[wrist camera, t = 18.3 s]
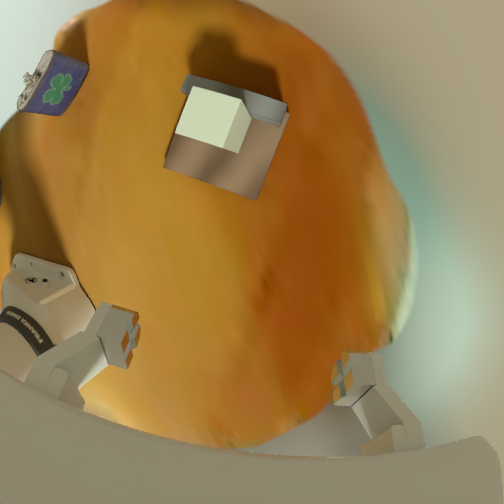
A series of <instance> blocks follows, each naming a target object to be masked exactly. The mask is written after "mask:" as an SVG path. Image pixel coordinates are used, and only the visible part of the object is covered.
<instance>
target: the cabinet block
mask: <svg viewBox="0 0 504 504" xmlns="http://www.w3.org/2000/svg"><path fill="white" fill-rule="evenodd" d="M251 119H252V118H251V116H250V115H249V113H248V111H247V109H246V107H245V105H244V103H243V102H242V100H241V99H238V98H234V97H231V96H228V95H224V94H221V93H217V92H214V91H210V90H206V89H202V88H199V87H195V86H193V87H192V89H191V92H190V94H189V97H188V99H187V102H186V104H185V107H184V110H183V112H182V115H181V117H180V120H179V123H178V126H177V128H176V131H175V133H176V134H180V135H183V136H186V137H190V138H193V139H196V140H199V141H202V142H205V143H209V144H212V145H215V146H218V147H221V148H224V149H227V150H230V151H232V152H235V153H239V150H240V147H241V145H242V142H243V140H244V137H245V134H246V132H247V129H248V127H249V124H250V122H251Z"/></svg>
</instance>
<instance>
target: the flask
mask: <svg viewBox="0 0 504 504" xmlns="http://www.w3.org/2000/svg"><path fill="white" fill-rule="evenodd" d="M88 71H89V66H88V65H87V64H86V63H85V62H82V61H79V60H77V59H75V58H72V57H69V56H66V55H64V54H61V53H59V52H56V51H55V50H49V51H46V52H45V53H44V55H43V56H42V58H41V61H40V62H39V64H38V66H37V68H36V70H35V72H34V74H33V76H31V75H29V73H28V72H27V73H26V74H25V75H24V76H23V77H25V76H26V78H25V80H24V83H25V85H26V88H25V90H24V91H23V92H22V94H21V95H20V96H19V99H18V102H17V109H18V110H19V111H22V112H31V113H38V114H44V115H50V116H51V115H52V116H61V115H63V114H64V113H65V112H66V110H67V109H68V107H69V106H70V105H71V103H72V102H73V100H74V98H75V97H76V95H77V92H78V91H79V89H80V87H81V85H82V84H83V82H84V80H85V78H86V77H87V74H88Z"/></svg>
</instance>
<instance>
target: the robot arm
mask: <svg viewBox="0 0 504 504" xmlns="http://www.w3.org/2000/svg"><path fill="white" fill-rule="evenodd" d="M63 273H64V274H63ZM1 301H2V313H1V315H0V504H503V485H502V475H501V467H500V461H499V458H498V454H497V452H496V451H495V450H494V448H493V447H492V446H491V445H490V444H489V442H488V441H487V440H486V439H485V438H484V437H482V436H473V437H470V438H466V439H462V440H458V441H454V442H450V443H445V444H441V445H436V446H431V447H425V444H424V438H423V433H422V428H421V423H420V421H419V420H418V419H417V418H416V416H415V415H414V414H413V413H412V412H411V411H410V409H409V408H408V407H407V406H406V404H405V403H404V402H403V401H402V400H401V399H400V397H399V396H398V395H397V394H396V393H395V392H394V390H393V389H392V388H391V387H390V386H387V383H386V379H385V374H384V370H383V366H382V361H381V357H380V355H379V354H378V353H369V352H360V351H349V350H346V351H344V352H343V353H342V354H341V359H340V360H338V361H336V363H335V364H334V366H333V369H332V373H331V381H332V383H333V385H334V386H335V388H334V390H333V391H332V392H333V402H334V405H341V406H352V409H353V410H354V412H355V414H356V415H357V417H358V418H359V420H360V422H361V423H362V424H363V426H364V428H365V429H366V431H367V433H368V434H369V436H370V437H371V439H372V440H370V441H369V442H367V443H366V444H364V445H363V446H362V455H361V456H360V455H359V456H335V457H307V456H283V455H268V454H258V453H249V452H240V451H233V450H226V449H220V448H214V447H208V446H202V445H197V444H192V443H188V442H183V441H178V440H174V439H170V438H166V437H162V436H158V435H154V434H151V433H147V432H144V431H140V430H137V429H134V428H130V427H127V426H124V425H121V424H118V423H115V422H112V421H109V420H107V419H104V418H101V417H98V416H96V415H93V414H91V413H88V412H85V411H83V407H84V404H85V400H84V398H83V397H82V395H81V394H80V392H79V390H78V389H79V388H80V387H82V386H83V385H84V384H85V383H87V382H88V381H89V380H90V379H92V378H93V377H94V376H95V375H97V374H98V373H99V372H100V371H102V370H103V369H104V368H105V367H107V366H108V364H110V365H114V366H117V367H121V368H124V369H128V367H129V365H130V362H131V360H132V357H133V354H132V350H133V349H134V348H136V347H137V344H138V341H139V337H140V325H139V324H138V322H137V321H138V319H139V315H138V312H136V311H132V310H129V309H126V308H122V307H119V306H116V305H113V304H109V303H106V302H102V303H100V304H99V306H98V308H97V309H96V311H95V309H94V307H93V305H92V303H91V302H90V300H89V299H88V297H87V296H86V294H85V293H84V292H83V290H82V289H81V287H80V285H79V282H78V279H77V277H76V274H75V272H74V271H73V269H72V268H70V267H67V266H63V265H60V264H56V263H53V262H50V261H46V260H43V259H40V258H37V257H33V256H30V255H27V254H24V253H20V252H19V253H17V254H16V255H15V256H14V258H13V261H12V265H11V272H10V273H8V274H7V275H6V277H5V278H4V280H3V283H2V289H1Z"/></svg>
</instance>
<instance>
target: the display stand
mask: <svg viewBox="0 0 504 504" xmlns="http://www.w3.org/2000/svg"><path fill="white" fill-rule="evenodd" d="M193 86H195V87H199V88H202V89H206V90H210V91H214V92H217V93H221V94H224V95H228V96H231V97H234V98H238V99H241V100H242V102H243V103H244V105H245V107H246V109H247V111H248V113H249V115H250V116H251V118H252V119H251V122H250V124H249V127H248V129H247V132H246V134H245V137H244V140H243V142H242V145H241V147H240V150H239V153H235V152H232V151H230V150H227V149H224V148H221V147H218V146H215V145H212V144H209V143H205V142H202V141H199V140H196V139H193V138H190V137H186V136H183V135H180V134H176V133H175V134H174V137H173V140H172V142H171V145H170V148H169V151H168V154H167V157H166V160H165V163H164V166H163V168H166V169H169V170H172V171H175V172H178V173H181V174H184V175H187V176H190V177H192V178H195V179H198V180H201V181H204V182H207V183H209V184H212V185H215V186H218V187H220V188H223V189H226V190H228V191H231V192H234V193H237V194H239V195H242V196H245V197H247V198H250V199H252V200H255V201H256V200H257V198H258V195H259V193H260V190H261V187H262V185H263V182H264V180H265V177H266V174H267V172H268V169H269V167H270V164H271V162H272V159H273V157H274V154H275V151H276V149H277V146H278V144H279V141H280V139H281V136H282V134H283V131H284V129H285V126H286V124H287V121H288V119H289V116H290V113H287V112H286V109H287V104H286V103H283V102H281V101H278V100H275V99H272V98H269V97H266V96H263V95H260V94H257V93H254V92H251V91H248V90H245V89H241V88H238V87H235V86H231V85H228V84H224V83H221V82H217V81H213V80H209V79H206V78H202V77H198V76H193V75H189V74H187V75H186V78H185V80H184V82H183V85H182V87H181V90H180V91H181V92H183V93H184V94H185V95H187V96H188V97H189V94H190V92H191V89H192V87H193Z"/></svg>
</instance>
